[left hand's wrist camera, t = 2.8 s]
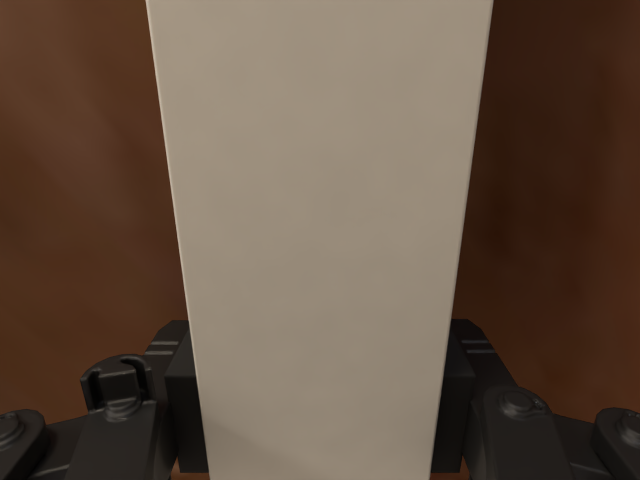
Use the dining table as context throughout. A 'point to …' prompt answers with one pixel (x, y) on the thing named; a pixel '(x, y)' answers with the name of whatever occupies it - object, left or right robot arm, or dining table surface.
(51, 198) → the dining table surface
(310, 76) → the post
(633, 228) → the dining table surface
